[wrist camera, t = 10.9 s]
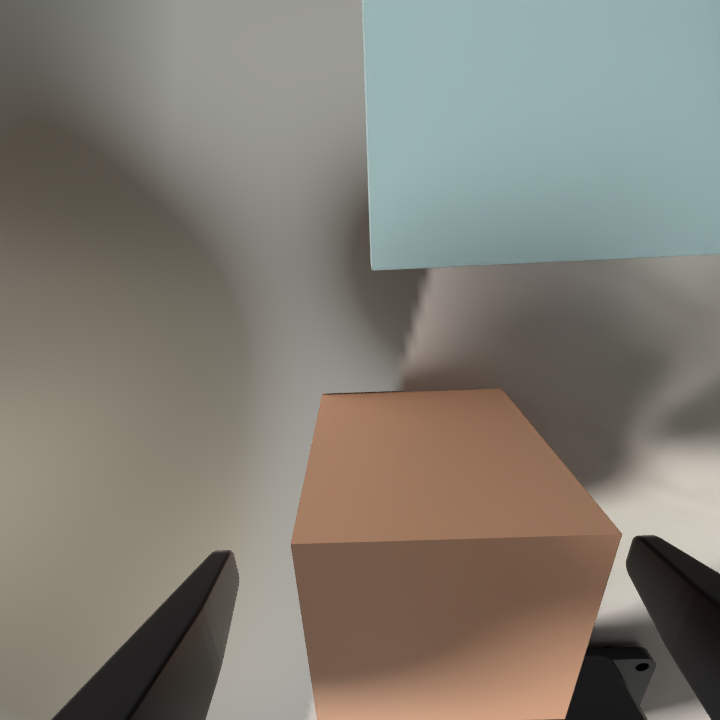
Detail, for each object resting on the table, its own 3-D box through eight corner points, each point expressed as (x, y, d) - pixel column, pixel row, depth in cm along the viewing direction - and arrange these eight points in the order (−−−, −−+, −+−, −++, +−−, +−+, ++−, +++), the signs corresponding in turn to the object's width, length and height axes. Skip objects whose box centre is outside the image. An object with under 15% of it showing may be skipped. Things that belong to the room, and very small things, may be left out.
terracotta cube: (484, 522, 12) (565, 719, 7) (334, 527, 12) (317, 724, 7) (500, 387, 10) (622, 534, 5) (322, 393, 10) (290, 544, 5)
